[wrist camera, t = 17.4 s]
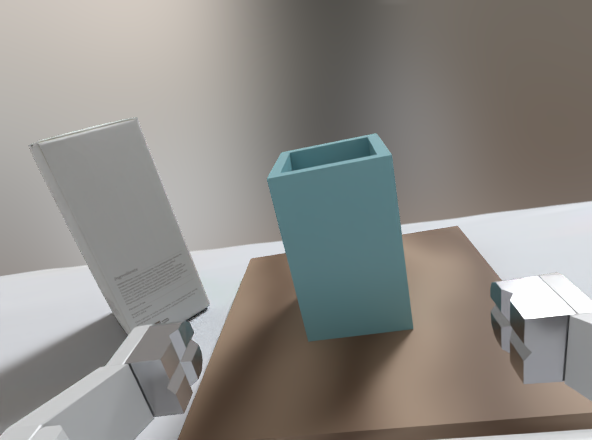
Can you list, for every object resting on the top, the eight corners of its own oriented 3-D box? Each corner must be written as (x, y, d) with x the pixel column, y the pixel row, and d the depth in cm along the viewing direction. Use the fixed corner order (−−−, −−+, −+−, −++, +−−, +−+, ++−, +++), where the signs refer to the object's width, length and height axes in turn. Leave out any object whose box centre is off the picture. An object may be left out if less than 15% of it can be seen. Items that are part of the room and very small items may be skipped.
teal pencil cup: (308, 341, 22) (266, 178, 18) (312, 285, 27) (281, 152, 24) (413, 329, 21) (391, 154, 17) (395, 273, 26) (376, 133, 23)
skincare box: (212, 308, 30) (143, 114, 25) (132, 354, 27) (30, 142, 21) (175, 278, 37) (114, 120, 31) (106, 313, 33) (24, 142, 28)
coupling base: (185, 467, 18) (105, 300, 14) (255, 272, 34) (226, 174, 31) (604, 438, 15) (630, 222, 11) (458, 241, 31) (451, 130, 28)
